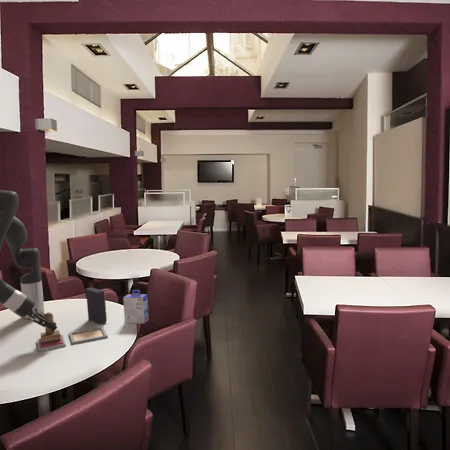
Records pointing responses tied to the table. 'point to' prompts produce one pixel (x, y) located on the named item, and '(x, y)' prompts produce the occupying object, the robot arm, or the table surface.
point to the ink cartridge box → (136, 308)
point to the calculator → (96, 305)
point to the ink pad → (51, 344)
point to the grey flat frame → (87, 335)
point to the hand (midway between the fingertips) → (55, 327)
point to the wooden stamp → (50, 332)
